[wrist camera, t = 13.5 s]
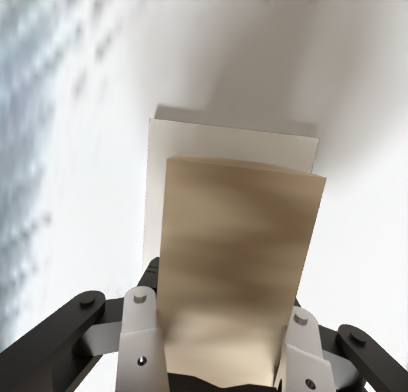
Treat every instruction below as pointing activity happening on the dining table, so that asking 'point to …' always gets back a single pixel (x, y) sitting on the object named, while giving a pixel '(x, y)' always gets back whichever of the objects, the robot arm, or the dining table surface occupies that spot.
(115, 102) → the dining table surface
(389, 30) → the dining table surface
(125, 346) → the robot arm
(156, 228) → the white board
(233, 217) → the birch block
